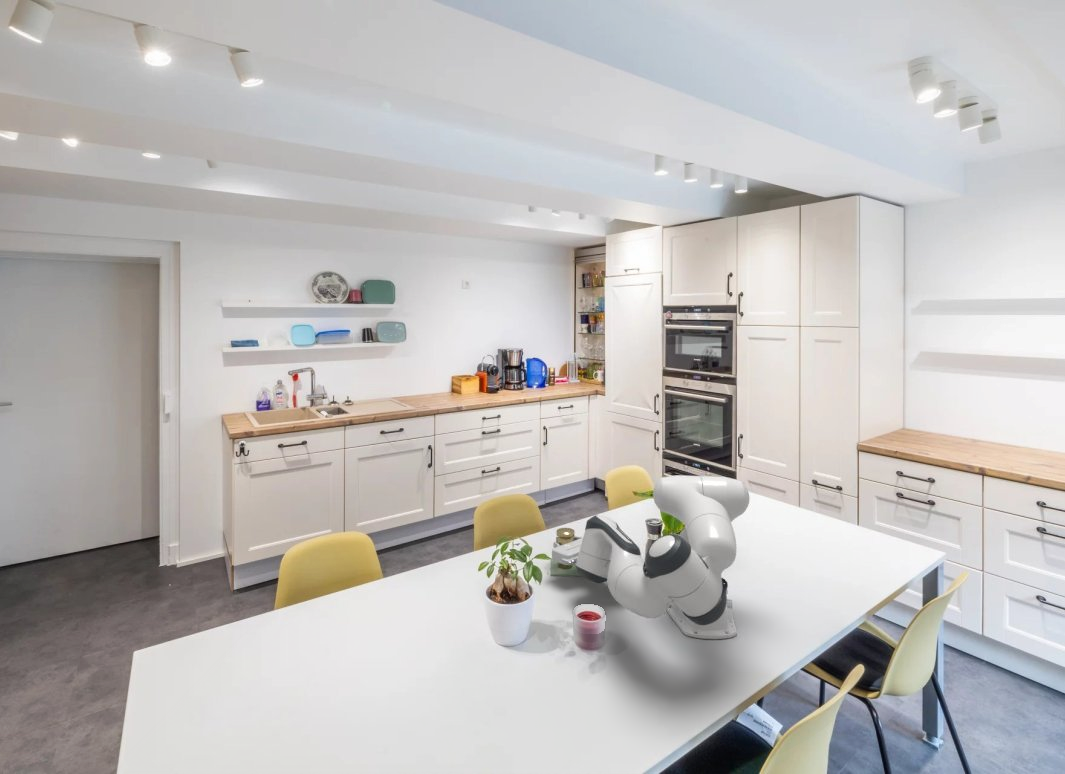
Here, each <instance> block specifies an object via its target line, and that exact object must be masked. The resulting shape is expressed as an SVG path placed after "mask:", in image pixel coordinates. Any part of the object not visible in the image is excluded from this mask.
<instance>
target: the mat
mask: <svg viewBox="0 0 1065 774" xmlns="http://www.w3.org/2000/svg"><path fill="white" fill-rule="evenodd" d="M550 576H551V577H582V576H581V575H580V574H579V572H578V570H577V568H576V563H575V564H573V567H572V568H571V569H561V568H559V567H558V562H556V561H554V560H553V559H552V557H551V558H550Z"/></svg>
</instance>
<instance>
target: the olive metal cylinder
mask: <svg viewBox="0 0 1065 774" xmlns="http://www.w3.org/2000/svg"><path fill="white" fill-rule="evenodd" d="M555 534H556V537H558V542H559V543H560V545H564V544H567V543H570V542H572V541H573V536H576V535H575V529H573V528H570V527H561V528H558V529H556V533H555ZM558 567H559V568H561V569H571V568H572V567H573V564H572V565H564V564H561V563H558Z"/></svg>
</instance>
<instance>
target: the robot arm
mask: <svg viewBox="0 0 1065 774" xmlns="http://www.w3.org/2000/svg"><path fill="white" fill-rule="evenodd" d="M652 497H653V501H654V504H655V505H656V508H657V509H658V510H660V511H661V512H662V513H666V514H668V515H670V516H672V517H673V518H676V519H677V520H678V521H680V522H681V524H683V525H684V528H683V529H682V530H681V531H680V533H679V534H676V533H668V534H667V533H666V534H663V535H661V536H660V537H658V538H656V539H655V540H654V541H652V543H651V544H650V546H649V548H648V549H647V551H646V555H645V557H644V560H643V557H642V554H641V553H642V552H641V549H640V547H639V545H637V544H636V543H635V542H634V540H632V539H631V538H630V537H629V536H628V534H626V533H625V532H624V531H623V530H622V529H621V528H620V526H619V524H618V523H617V522H616V521H614V519H612V518H611V517H607V516H604V515H600V514H599V515H598V514H597V515H593V516H592V517H590V518H589V519H588V520H586V524H585V529H584V534H583V536H576V535H574V536H573V541H572V542H570V543H567V544H564V545H560V543H559V542H556V541H555V542H553V548H552V549H551V558H552V559H553V560H554V561H556V562H558V563H561V564H564V565H572V564H575V563H576V568H577V570H578V572H579V574H580V575H581V576H580V577H583V578H585V579H587V580H589V581H591V582H594V583H597V584H603V583H606V582H607V588H608V590H609V592H610V595H611V596H612V598H613V599H614V600H615V601H616V602H617V603H618V604H619V605H620V606H622V607H623V608H625V609H626V610H627V611H629V612H631V613H633V614H635V615H637V616H639V617H643V618H646V619H657V618H659V617H661V616H663V615H664V614H665V613H667V614H668V615H669V616H670V618H671V620H673V622H674V623H675V625H677V627H678V628H679V629H680V631H681V632H682V633H683V634H684V635H685V636H688V637H690V638H691V637H692V638H697V639H703V640H705V639H706V640H722V639H731V638H734V637H736V636H737V634H738V633H737V628H736V624H735V623H736V622H735V620H734V615H733V611H732V609H733V600H732V599H728V598H727V595H728V589H729V586H728V585H729V584H728V581H727V580H726V579H725V578H723V577H722V573H723V572H724V571H725V570H726V569H728V568H730V567H731V566H732V565H733V564H734V562H735V561H736V557H737V541H736V539H737V538H736V534H735V531H734V527H733V524H732V522H733V521H735V519H737V518H738V517H740V516H742V515H743V514H744V513H745V512H746V510H747V509H748V507H749V504H750V492H749V489H748V487H747V486H746V484H744V483H743V481H742V480H739V479H735V478H732V477H726V476H714V475H711V476H709V475H685V474H684V475H682V474H681V475H678V474H677V475H669V476H668V475H667V476H663V477H660V478H658V480H657V481H656V483H655V485H654V487H653V491H652Z"/></svg>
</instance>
